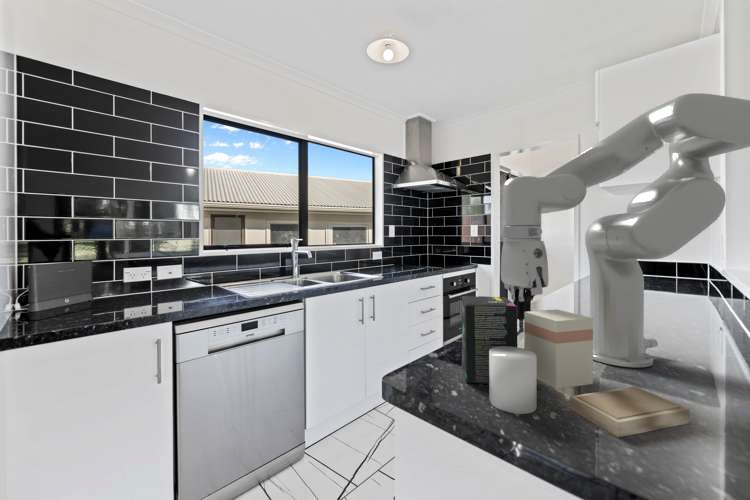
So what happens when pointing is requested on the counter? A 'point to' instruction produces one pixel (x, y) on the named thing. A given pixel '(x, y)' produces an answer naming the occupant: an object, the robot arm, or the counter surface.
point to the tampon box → (485, 333)
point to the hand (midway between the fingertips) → (522, 318)
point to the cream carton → (560, 347)
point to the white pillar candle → (513, 379)
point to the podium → (629, 411)
